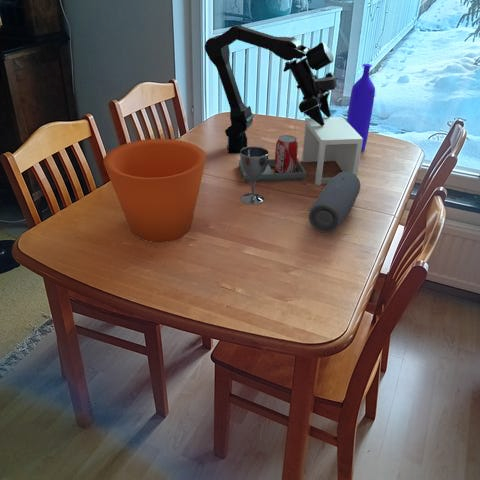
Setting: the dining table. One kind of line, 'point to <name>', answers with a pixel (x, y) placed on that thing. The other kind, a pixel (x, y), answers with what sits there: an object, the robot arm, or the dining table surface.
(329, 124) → the white side table
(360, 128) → the bottle
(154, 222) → the flowerpot
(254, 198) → the wine glass
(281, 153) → the soda can
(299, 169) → the tray
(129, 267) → the dining table surface
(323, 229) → the bluetooth speaker
